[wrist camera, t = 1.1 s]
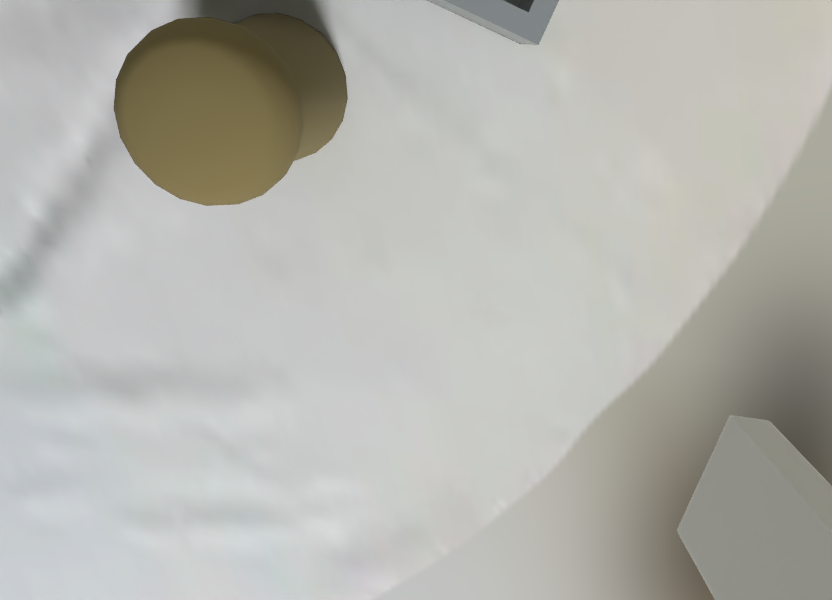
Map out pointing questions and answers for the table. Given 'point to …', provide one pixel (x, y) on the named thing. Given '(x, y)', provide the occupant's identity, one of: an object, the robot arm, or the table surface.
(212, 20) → the cork
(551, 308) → the table surface
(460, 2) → the tray
